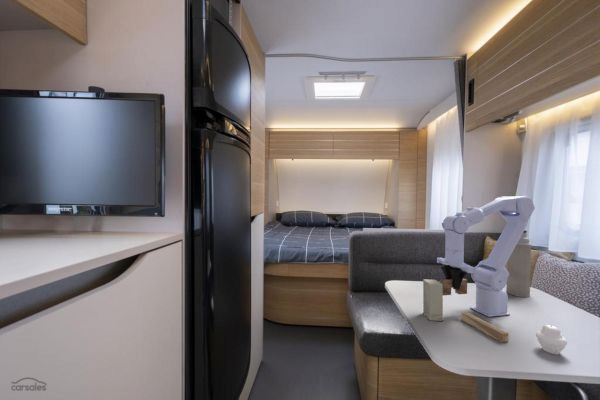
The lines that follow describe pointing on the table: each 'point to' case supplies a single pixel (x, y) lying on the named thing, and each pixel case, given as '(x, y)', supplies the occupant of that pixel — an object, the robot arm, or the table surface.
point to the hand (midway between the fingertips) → (453, 287)
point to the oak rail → (486, 327)
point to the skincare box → (433, 299)
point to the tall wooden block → (448, 285)
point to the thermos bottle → (519, 268)
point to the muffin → (551, 339)
